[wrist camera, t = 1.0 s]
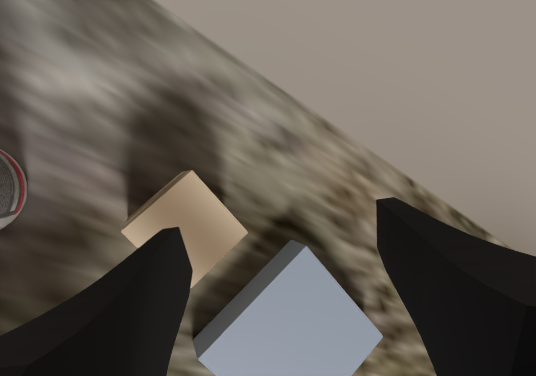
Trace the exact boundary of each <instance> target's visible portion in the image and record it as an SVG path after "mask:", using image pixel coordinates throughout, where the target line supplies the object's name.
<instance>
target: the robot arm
mask: <svg viewBox="0 0 536 376" xmlns="http://www.w3.org/2000/svg"><path fill="white" fill-rule="evenodd" d="M376 206H377V248H378V251H379V253H380V256H381V259H382V262H383V264H384V267H385V269H386V272H387V274H388V275H389V277H390V279H391V281H392V283H393V285H394V287H395V289H396V290H397V292H398V294H399V296H400V298H401V300H402V301H403V303H404V305H405V307H406V309H407V311H408V312H409V314H410V316H411V318H412V320H413V322H414V323H415V325H416V327H417V329H418V332H419V334H420V336H421V338H422V340H423V343H424V345H425V348H426V350H427V352H428V355H429V357H430V360H431V362H432V364H433V367H434V369H435V372H436V375H437V376H536V257H535V256H532V255H528V254H525V253H521V252H518V251H514V250H511V249H508V248H505V247H502V246H499V245H496V244H493V243H491V242H488V241H485V240H482V239H480V238H477V237H474V236H472V235H469V234H467V233H465V232H463V231H460V230H458V229H456V228H454V227H451V226H449V225H447V224H445V223H443V222H441V221H439V220H437V219H435V218H433V217H431V216H429V215H427V214H425V213H423V212H422V211H420V210H418V209H416V208H414V207H412V206H410V205H409V204H407V203H405V202H403V201H401V200H399V199H397V198H394V197H392V198H385V199H378V200H376ZM192 273H193V269H192V266H191V263H190V260H189V257H188V254H187V250H186V247H185V244H184V241H183V238H182V235H181V232H180V228H179V227H172V228H165V229H162V230H160V231H159V232H158V233H156V234H155V235H154V236H152V237H151V238H150V239H149V240H148V241H146V242H145V243H144V244H143V245H142V246H140V247H139V248H138V249H137V250H136V251H134V252H133V253H132V254H131V255H130V256H128V257H127V258H126V259H125V260H124V261H122V262H121V263H120V264H118V265H117V266H116V267H115V268H113V269H112V270H111V271H109V272H108V273H107V274H105V275H104V276H103V277H102V278H100V279H99V280H97V281H96V282H95V283H93V284H92V285H90V286H89V287H87V288H86V289H84V290H83V291H81V292H80V293H78V294H77V295H75V296H74V297H72V298H70V299H69V300H67V301H65V302H64V303H62V304H60V305H58V306H57V307H55V308H53V309H51V310H50V311H48V312H46V313H44V314H43V315H41V316H39V317H37V318H35V319H34V320H32V321H30V322H28V323H26V324H24V325H22V326H20V327H18V328H16V329H14V330H12V331H10V332H7V333H5V334H3V335H1V336H0V376H166V375H167V370H168V365H169V360H170V357H171V353H172V349H173V346H174V343H175V340H176V336H177V333H178V330H179V327H180V324H181V320H182V317H183V314H184V311H185V307H186V304H187V301H188V297H189V293H190V287H191V281H192Z"/></svg>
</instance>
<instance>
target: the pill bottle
mask: <svg viewBox="0 0 536 376" xmlns="http://www.w3.org/2000/svg"><path fill="white" fill-rule="evenodd" d="M26 198H27V182H26V178H25V174H24V172H23V171H22V169H21V167H20V166H19V164H18V163H17V162H16V161H15V160H14V159H13V158H12V157H11V156H10V155H9V154H7V153H6V152H4V151H3V150H1V149H0V229H2V228H4V227H5V226H7V225H8V224H9V223H11V222H12V221H13V220H14V219H15V218H16V217H17V216H18V214H19V213H20V212H21V210H22V208H23V206H24V204H25V202H26Z"/></svg>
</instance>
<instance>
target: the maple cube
mask: <svg viewBox="0 0 536 376" xmlns="http://www.w3.org/2000/svg"><path fill="white" fill-rule="evenodd" d="M172 227H179V228H180V232H181V235H182V238H183V241H184V244H185V247H186V250H187V254H188V257H189V260H190V263H191V266H192V269H193V273H192V281H191V287H190V289H191V288H192V287H193V286H194V285H195V284H196V283H197V282H198V281H199V280H200V279H201V278H202V277H203V276H204V275H205V274H206V273H207V272H208V271H209V270H210V269H211V268H212V267H213V266H214V265H215V264H216V263H217V262H218V261H219V260H220V259H222V258H223V257H224V256H225V255H226V254H227V253H228V252H229V251H230V250H231V249H232V248H233V247H234V246H235V245H236V244H237V243H238V242H239V241H240V240H241V239H242V238H243V237H244V236H245V235H246V234H247V233H248V232H247V231H246V230H245V228H244V227H243V226H242V225H241V224H240V223H239V222H238V221H237V220H236V218H235V217H234V216H233V215H232V214H231V213H230V212H229V211H228V210H227V208H226V207H225V206H224V205H223V204H222V203H221V202H220V201H219V199H218V198H217V197H216V196H215V195H214V194H213V193H212V192H211V191H210V189H209V188H208V187H207V186H206V185H205V184H204V183H203V182H202V181H201V179H200V178H199V177H198V176H197V175H196V174H195V173H194V172H193V170H189V171H183V172H181V173H179V174H178V175H177V176H176V177H175V178H174V179H172V180H171V181H170V182H169V183H168V184H167V185H165V186H164V187H163V188H162V189H161V190H160V191H158V192H157V193H156V194H155V195H154V196H153V197H151V198H150V199H149V200H148V201H147V202H146V203H144V204H143V205H142V206H141V207H140V208H139V209H137V210H136V211H135V212H134V213H133V214H132V215H130V216H129V217H128V219H127V220H126V222H125V224H124V226H123V228H122V230H121V232H122V233H123V234H124V235H125V236H126V237H127V238H128V239H129V240H130V241H131V242H132V243H133V244H134V245H135V246H136V247H137V248H139V247H140V246H142V245H143V244H144V243H145V242H146V241H148V240H149V239H150V238H151V237H152V236H154V235H155V234H156V233H158V232H159V231H160V230H162V229H165V228H172Z"/></svg>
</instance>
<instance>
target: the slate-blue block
mask: <svg viewBox="0 0 536 376" xmlns="http://www.w3.org/2000/svg"><path fill="white" fill-rule="evenodd" d="M382 337H383V336H382V334H381V333H380V332H379V331H378V330H377V329H376V327H375V326H374V325H373V324H372V323H371V321H370V320H369V319H368V318H367V317H366V316H365V314H364V313H363V312H362V311H361V310H360V308H359V307H358V306H357V305H356V304H355V303H354V301H353V300H352V299H351V298H350V297H349V295H348V294H347V293H346V292H345V291H344V290H343V288H342V287H341V286H340V285H339V284H338V282H337V281H336V280H335V279H334V278H333V277H332V275H331V274H330V273H329V272H328V271H327V270H326V268H325V267H324V266H323V265H322V264H321V262H320V261H319V260H318V259H317V258H316V257H315V255H314V254H313V253H312V252H311V251H310V249H309V248H308V247H307V246H306V245H303V244H301V243H299V242H297V241H294V240H292V239H291V240H290V241H289V242H288V243H287V244H286V245H285V246H284V247H283V248H282V249H281V250H280V251H279V252H278V253H277V254H276V255H275V256H274V257H273V258H272V259H271V261H270V262H269V263H268V264H267V265H266V266H265V267H264V268H263V269H262V270H261V271H260V272H259V273H258V274H257V275H256V276H255V277H254V278H253V279H252V280H251V281H250V282H249V283H248V284H247V285H246V286H245V287H244V288H243V289H242V290H241V291H240V292H239V293H238V294H237V295H236V296H235V297H234V298H233V299H232V300H231V301H230V302H229V303H228V304H227V305H226V307H225V308H224V309H223V310H222V311H221V312H220V313H219V314H218V315H217V316H216V317H215V318H214V319H213V320H212V321H211V322H210V323H209V324H208V325H207V326H206V327H205V328H204V329H203V330H202V331H201V332H200V333H199V334H198V335H197V336H196V337H195V338H194V339H193V344H194V347H195V351H196V354H197V358H198V360H199V361H200V362H201V363H202V364H204V365H205V366H206V367H207V368H208V369H209V370H210V371H211V372H212V373H213V374H215V375H216V376H352V374H353V373H354V372H355V371H356V370H357V368H358V367H359V366H360V365H361V363H362V362H363V361H364V360H365V358H366V357H367V356H368V355H369V353H370V352H371V351H372V350H373V348H374V347H375V346H376V345H377V343H378V342H379V341H380V340H381V339H382Z"/></svg>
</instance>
